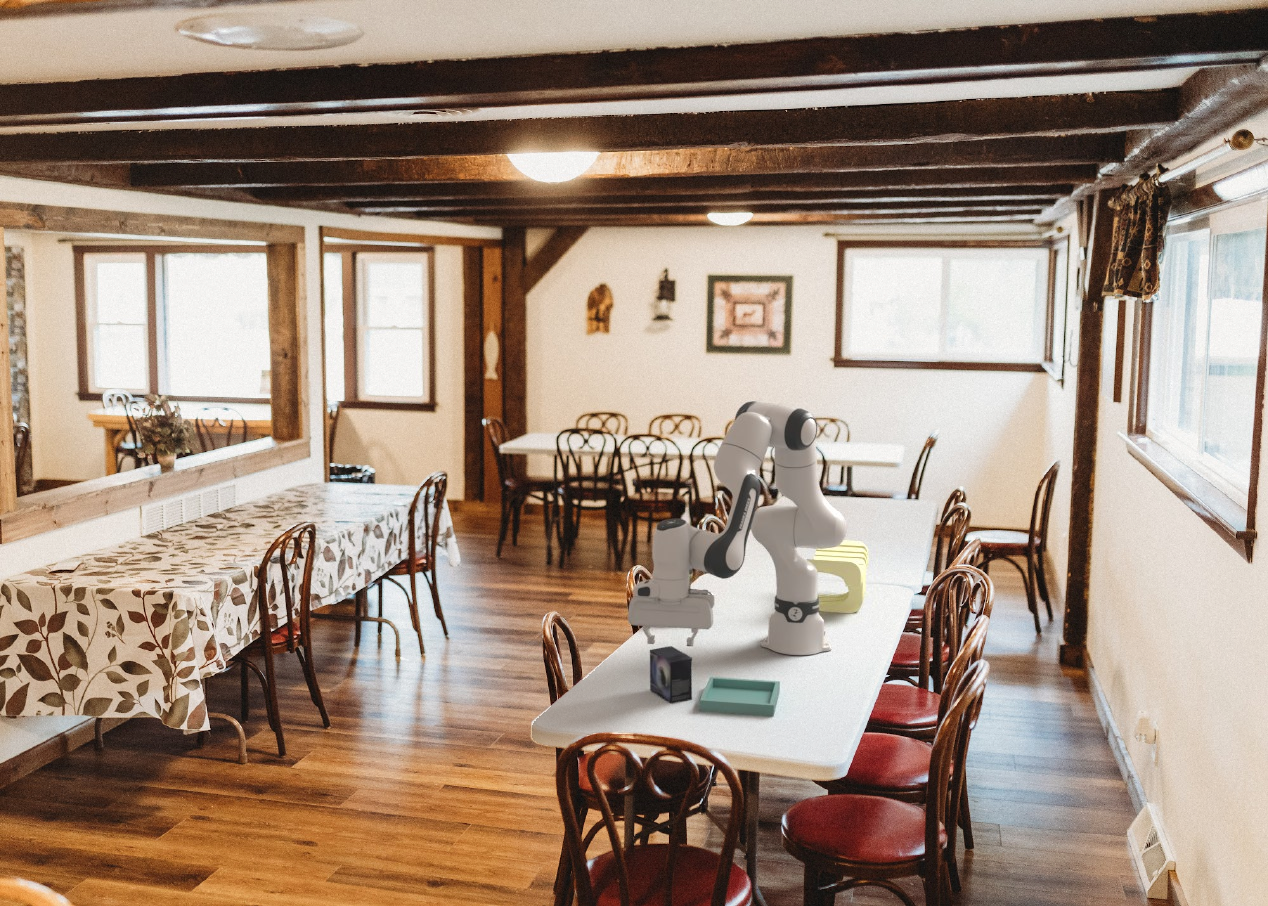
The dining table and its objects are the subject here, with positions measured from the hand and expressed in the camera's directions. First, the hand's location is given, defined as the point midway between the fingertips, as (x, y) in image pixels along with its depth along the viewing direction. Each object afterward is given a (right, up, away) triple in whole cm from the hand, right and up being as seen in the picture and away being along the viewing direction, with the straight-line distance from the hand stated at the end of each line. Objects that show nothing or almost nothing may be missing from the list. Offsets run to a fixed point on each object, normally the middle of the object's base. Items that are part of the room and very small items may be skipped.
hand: (670, 644), depth 278 cm
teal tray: (+16, -13, -3) cm, 21 cm away
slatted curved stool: (+54, -2, +82) cm, 98 cm away
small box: (0, -13, +2) cm, 13 cm away
